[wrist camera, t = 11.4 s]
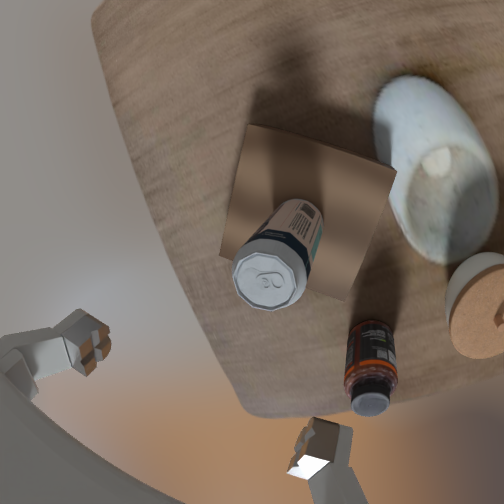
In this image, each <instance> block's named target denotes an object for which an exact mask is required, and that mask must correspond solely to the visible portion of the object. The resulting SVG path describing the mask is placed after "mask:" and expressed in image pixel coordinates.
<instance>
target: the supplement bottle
mask: <svg viewBox="0 0 504 504" xmlns="http://www.w3.org/2000/svg"><path fill="white" fill-rule="evenodd" d="M397 383H398V378H397V366H396V356H395V346H394V338H393V333H392V331H391V329H390V328H389V327H388V326H387V325H386V324H384V323H382V322H379V321H365V322H362V323H360V324H358V325H357V326H355V327H354V328H353V329H352V330H351V332H350V334H349V337H348V342H347V354H346V366H345V377H344V390H345V393H346V395H347V396H348V397H349V398H350V399H351V408H352V410H353V411H354V412H355V413H356V414H358V415H361V416H368V417H370V416H376V415H379V414H381V413H383V412H384V411H386V410H387V409H388V407H389V404H390V396H391V395H392V394H393V393H394V391H395V390H396V387H397Z"/></svg>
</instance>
